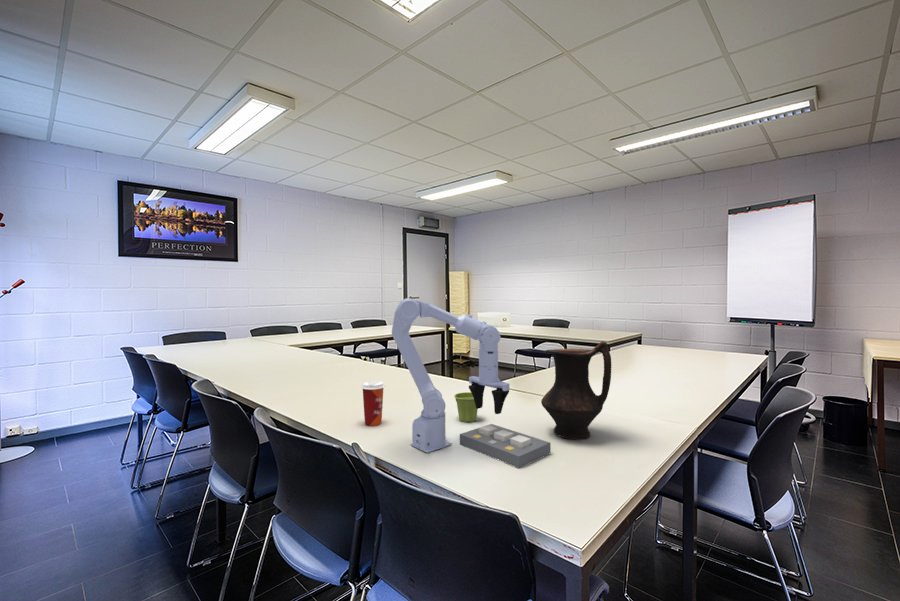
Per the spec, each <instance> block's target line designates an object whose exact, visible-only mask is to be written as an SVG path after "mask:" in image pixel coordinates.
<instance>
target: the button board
mask: <svg viewBox="0 0 900 601" xmlns="http://www.w3.org/2000/svg"><path fill="white" fill-rule="evenodd" d="M488 425H490V426H493V427H496V428H498V431H501V430H505V431H508V432H511V433H514V437H515V436H518V435H521V436H524V437H527V438H530V439H531V445H530V446H528V447H525V448H523V449H521V448H518V447H516V446H513V445H510V441H508V442H505V443H504V442H501V441H499V440H496V439H494V435H493V436H490V437H487V436H485V435H482V434H479V427H478V428H474V429H471V430H468V431H465V432H462V433H459V445H461V446H463V447H465V448H468V449H471V450H473V451H475V450H476V452H478V453H480V452H481V454H482V455H485V454H486V455H485V456H488V455H489V456H488V457H490V456H491V458H493V457H494V458H493V459H495V458H496V459H495V460H497V459H499V460H498V461H500V460H501V461H500V462H502V461H504V462H503V463H505V462H506V463H505V464H507V463H508V465H511V466H512V467H514V468H517V467H518V468H517V469H520V467H521V468H522V466H523V467H524V466H527V465H529V464H531V463H533V462H535V461H537V459H538V460H540V459H542V458H544V457H546V456H548V455H550V454H552V453H551V452H552V450H551V442H549V441H547V440H543V439H540V438H537V437H534V436H531V435H529V434H528V435H527V434H525V433H521V432H519V431H515V430H512V429H510V428H506V427H503V426H500V425H496V424H493V423H490V424H488ZM549 453H550V454H549ZM547 454H548V455H547ZM543 456H544V457H543ZM541 457H542V458H541ZM539 458H540V459H539Z"/></svg>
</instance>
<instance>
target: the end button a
mask: <svg viewBox="0 0 900 601" xmlns="http://www.w3.org/2000/svg"><path fill="white" fill-rule="evenodd" d="M478 428H479V434H482V435H485V436H487V437H490V436H493V435H494V433H495V432H498V428H496V427H493V426H490V425H489V424H485V425H483V426H480V427H478Z"/></svg>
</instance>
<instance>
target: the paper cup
mask: <svg viewBox="0 0 900 601" xmlns="http://www.w3.org/2000/svg"><path fill="white" fill-rule="evenodd" d="M361 388H362V398H363V414H364V425H365V426H368V427H375V426H376V427H377V426H380V425H381V424H382V419H383V402H384V388H385V385H384V382H383V381H379V380H377V381H375V380H373V381H371V380H370V381H366V382H363V384H362V386H361Z"/></svg>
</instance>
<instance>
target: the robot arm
mask: <svg viewBox="0 0 900 601" xmlns="http://www.w3.org/2000/svg"><path fill="white" fill-rule="evenodd" d="M418 316H419V317H420V318H433V319H435V320H438V321H441V322H443V323H444V324H445V323H446V324H448V325H451V326H453V327H454V330H455V332H456V333H458V334H461V335H462V336H465V337H467V338H469V339H472V340H474V341H479V349H478V376H475V375H474V376H473V375H472V376H469V377H468V383H469V385H468V389H469V391H470V392H471V393H472V395H473V398H474V401H475V405H476V408H477V409H482V408H483V405H484V404H483V403H484V392H485V388H486V387H489V388H492V389H493V390H491V395H492V397H493V404H494V405H493V406H494V408H493V409H494V411H493V412H494V414H495V415H499V414H502V411H503V408H504V407H503V406H504V403H505V401H506V399H507V397H508V395H509V392H510V383H509V382H508V383H507V382H505V381H502V380H500V378H499V350H498V347H499V346H498V344H499V343H500V341H501V338H502V337H501V334H500V332H499V330H498V329H497V328H496V327H494V326H493V325H490V324H487V322H486V321H485V320H484V321H481V320H478V319H476V318H473V315H471V314H467V315H466V314H461V315H459V316H458V315H455V314H453V313H451V312H448V311H447V310H445V309H443V308H440V307H438V306H436V305H434V304H431V303H429V302H424V301H420V300H415V299H413V298H409V297H408V298H403V299H402V300H401V301H400V302H399V303H398V305H397V306H396V309H395V311H394V315H393V321H392V327H391V336H392V337H393V340H394V342H395V344H396V346H397V349H398V350H399V352H400V355H401V357H402V359H403V360H404V363H405V365H406V367H407V369H408V371H409V373H410V375H411V377H412V379H413V381H414V384H415V386H416V387H417V388H416V389H418V393H419V394H420V397H421V403H422V405H423V407H422V408H423V409H422V411H421V412H420V416H419V417H416V418H415V419H413V421H412V426H411V427H412V429H411V430H412V433H411V435H412V440H411V441H412V443H410V446H412V447H414V448H416V449H419V450H421V451H422V452H425V453H427V454H429V453H430V452H433V451H437V450H439V449H442V448H446V447H449V446H451V445H452V444H453V442H451V441H448V440H446V412H445V411H446V401H445V400H444V398H443V394H442V393H441V392H440V390H438V389H437V388H436V387H435V386H434V383H433V381H432V380H431V378H430V375H429V373H428V371H427V369H426V367H425V364H424V363H423V360H422V359H421V356H420V355H419V352H418V350H417V349H416V346H415V344H414V342H413V340H412V337H411V335H410V334H409V332H410V330H411V328H412V326H413V325H412V324H413V323H414V322H415V320H416V319H417V318H418ZM470 384H471V385H470Z"/></svg>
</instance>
